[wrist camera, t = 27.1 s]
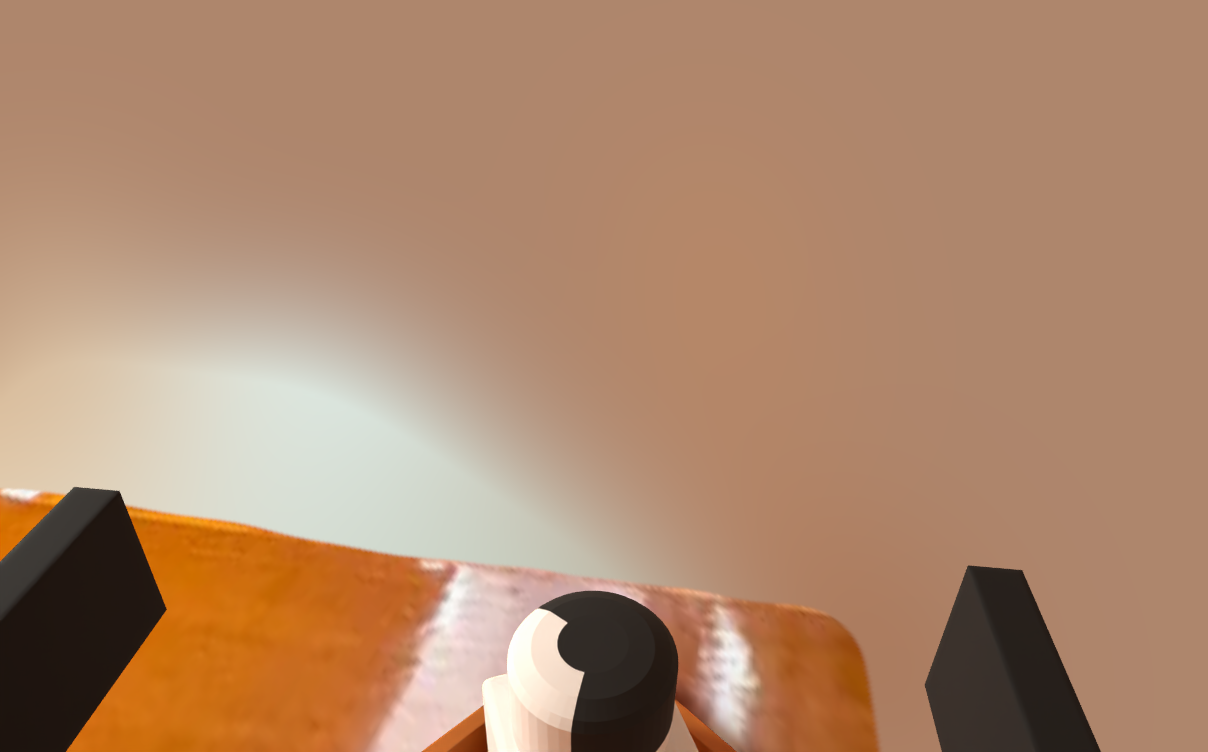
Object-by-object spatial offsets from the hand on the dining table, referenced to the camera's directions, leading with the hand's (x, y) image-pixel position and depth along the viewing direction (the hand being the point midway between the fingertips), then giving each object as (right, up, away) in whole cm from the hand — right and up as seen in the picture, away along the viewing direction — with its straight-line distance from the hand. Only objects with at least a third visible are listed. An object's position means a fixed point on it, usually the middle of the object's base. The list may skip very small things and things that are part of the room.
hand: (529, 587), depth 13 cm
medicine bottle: (+1, -16, +22) cm, 27 cm away
